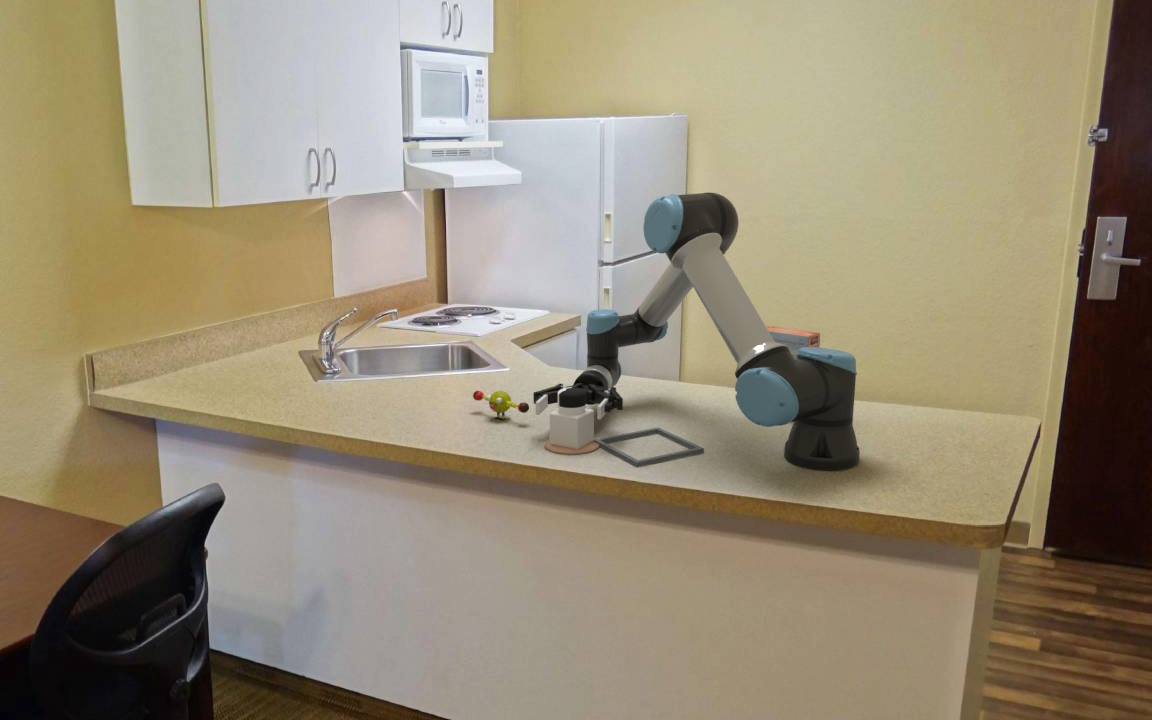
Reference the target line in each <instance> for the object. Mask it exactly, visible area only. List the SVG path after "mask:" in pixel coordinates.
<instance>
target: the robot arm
mask: <svg viewBox="0 0 1152 720" xmlns="http://www.w3.org/2000/svg"><path fill="white" fill-rule="evenodd" d="M642 230H643V236H644V239H645V240H644V241H645V242H646V244H647V246H648V248H649V249H650V250H652V251H653V252H655V253H658V254H659V255H660V254H661V255H662V254H665V255H666V257H667V258H668V260H669V261H670V263H669V265H668V266H667V268H666V269H665V270H664V272H663V273H662V274H661V276H660V277H659V278H658V280H657V282H656V283H655V284H654V285H653V287H652V288H651V289H650V291H649V292H648V294H647V295H646V297H645V298H644V299H643V301H642V302H641V304H640V305H639V306H638V307H637V309H636V310H635V312H634V313H631V314H625V315H619V313H618V311H616V310H612V309H605V308H604V309H594V310H591V311H589V313H587V319H586V346H587V353H586V354H587V355H586V369H585V370H583V371H582V372H581V374H579V376H577V377H576V379H575V380H574V381H573V385H569V386H565V387H564V384H563V383H558V384H556V385H555V386H551V387H546V388H545V389H541V390H540V389H539V390H537V391H535V392H533V394H532V395H533V397H532V398H533V404H534V405H535V415H536V416H537V415H538V416H539V415H541V413H543V412H544V411H545V410H546V409H547V408H548V407H549V405H552V404H558V391H559V390H561V389H563V388H568V387H575V388H580V389H582V390H584V391H585V392H586V406H587V405H588V406H592V405H597V408H596V410H597V416H596V417H597V418H596V419H597V420H602V418H604V416H605V415H606V414H607V413H611V412H612V411H614V410H615V409H616V410H617V411H622V410H623V408H624V404H623V403H624V398H623V397H622V396H621V394H619V392H618V391H617V387H614V386H617V384H618V382H619V380H620V379H621V375H622V370H623V369H622V366H621V363H620V362H619V349H620V348H622V347H623V348H625V347H629V346H635V345H640V344H641V345H642V344H646V343H647V344H648V343H654V342H656V341H660V340H661V339H663V338H665V336H666V335H667V333H668V328H669V323H668V320H669V319H670V318H671V316H672V315H673V314H674V312H675V311H676V310H677V308H678V307H679V306H680V305H681V304H682V302H683V300H684V299H685V298H686V297H687V295H689V293H690V292H691V290H692V289H694V290H695V292H696V294H697V297H699V300H700V302H701V303H702V305H703V306H704V308H705V310H706V312H707V314H708V315H709V317H710V319H711V320H712V322H713V323H714V326H715V327H716V329H717V332H718V333H719V334H720V336H721V337H722V339H723V342H724V343H725V345H726V347H727V348H728V350H729V351H730V354H731V356H732V357H733V359H734V361H735V362H736V369H735V371H734V376H735V379H736V381H735V386H734V390H735V392H736V394H735V400H736V403H737V406H738V408H739V410H740V411H741V413H742V414H743V415H744V416H745V417H746V419H748V420H749V421H750V422H752V423H753V424H755V425H757V426H762V427H767V428H771V427H776V426H777V427H779V426H785V425H787V424H790V423H792V422H793V424H792V426H791V428H790V432H789V435H788V439H787V441H785V444H784V447H783V448H784V449H783V451H784V452H783V455H784V456H783V458H784V459H785V460H786V461H787V462H789V463H791V464H792V465H795V466H796V467H797V466H798V467H801V468H804V469H809V470H816V471H842V470H848V469H852V468H854V467H856V466H857V465H858V464H859V463H860V454H861V453H860V452H861V451H860V447H859V446H858V442H857V438H856V432H855V430H854V424H853V423H854V422H853V421H854V409H855V395H856V393H855V391H856V379H857V377H856V376H858V373H857V360H856V358H855V356H854V355H853V354H851V353H850V352H846V351H842V350H838V349H833V348H825V347H819V348H817V347H802V348H800V349H799V350H798V354H797V356H796V357H797V360H795V359H794V357H793V356H792V354H791V352H790V351H789V349H788V347H787V346H786V345H784V344H779V343H776V342H775V341H774V339H773V337H772V336H771V334H770V332H769V331H768V329H767V327H766V326H767V325H766V324H765V322H764V321H763V320H762V319H763V318H761V316H760V314H759V313H758V310H757V309H756V307H755V306H754V304H753V303H752V300H751V299H750V297H749V295H748V294H747V293H746V291H745V289H744V287H743V285H742V283H741V282H740V280H739V279H738V277H737V275H736V274H735V273H734V270H733V268H732V267H731V266H730V264H729V262H728V261H727V259H726V256H725V254H726V253H727V251H728V250H729V249H730V247H731V246H732V244H733V242H734V240H735V238H736V237H737V234H738V230H739V215H738V212H737V210H736V207H735V206H734V203H732V202H731V200H729V199H728V198H727V197H726V196H724V195H722V194H720V193H716V192H702V193H688V194H687V193H686V194H675V193H673V194H672V193H671V194H669V195H664V196H660V197H657V198H655V199H654V200H653V201H652V202H651V203H650V205H649V206H648V207H647V209H646V212H645V215H644V219H643V229H642Z"/></svg>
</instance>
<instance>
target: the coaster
mask: <svg viewBox="0 0 1152 720" xmlns="http://www.w3.org/2000/svg"><path fill="white" fill-rule="evenodd" d="M594 439H597V437H594ZM544 448H545V450H547V451H549V452H551V453H554V454H558V453H559V455H565V454H567V455H568V456H571V455H572V454H578V455H586V454H589V453H592V452H595V451H597V450H599V449H600V444H598V443H596V442H594V440H593V441H592V442H590V443H588V444H586V445H585V446H583V447H581V448H579V449H572V448H567V447H562V446H556V445H551V444H550V437H549V438H547V440H545V442H544ZM570 454H571V455H570Z"/></svg>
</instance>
